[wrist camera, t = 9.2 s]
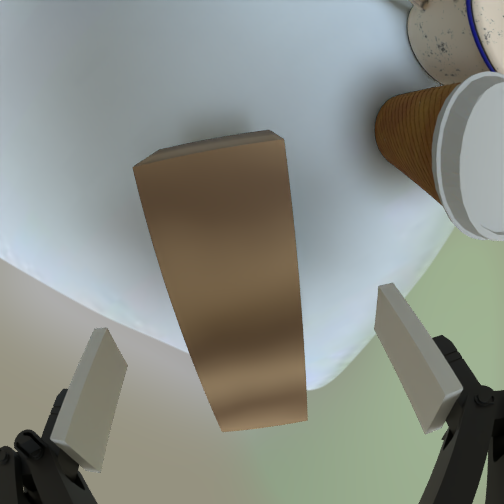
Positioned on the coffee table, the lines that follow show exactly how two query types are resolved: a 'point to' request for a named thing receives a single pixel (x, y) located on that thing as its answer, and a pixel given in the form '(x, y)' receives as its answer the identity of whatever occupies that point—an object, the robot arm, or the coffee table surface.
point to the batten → (232, 271)
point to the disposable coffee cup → (452, 148)
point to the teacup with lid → (457, 37)
